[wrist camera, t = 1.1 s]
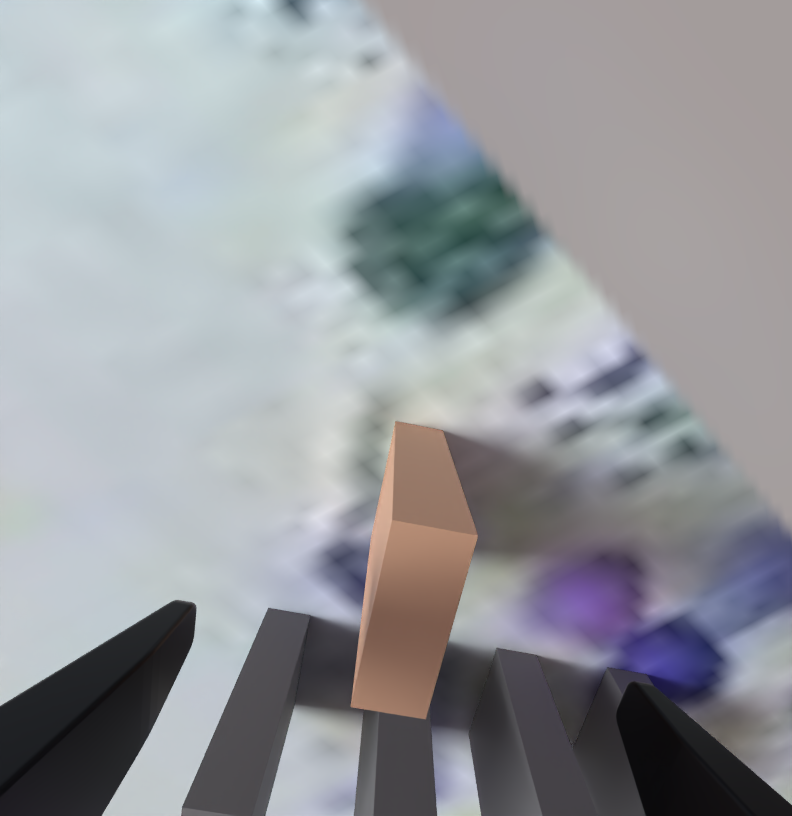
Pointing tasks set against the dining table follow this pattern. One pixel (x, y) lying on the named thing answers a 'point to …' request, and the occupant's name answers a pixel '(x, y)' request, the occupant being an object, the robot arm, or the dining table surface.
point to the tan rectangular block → (412, 574)
